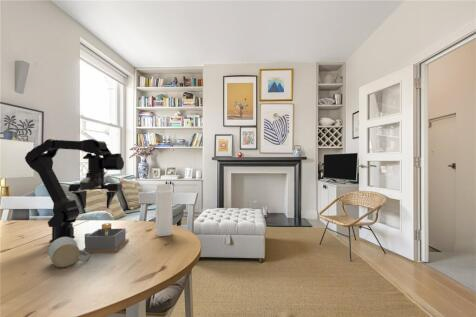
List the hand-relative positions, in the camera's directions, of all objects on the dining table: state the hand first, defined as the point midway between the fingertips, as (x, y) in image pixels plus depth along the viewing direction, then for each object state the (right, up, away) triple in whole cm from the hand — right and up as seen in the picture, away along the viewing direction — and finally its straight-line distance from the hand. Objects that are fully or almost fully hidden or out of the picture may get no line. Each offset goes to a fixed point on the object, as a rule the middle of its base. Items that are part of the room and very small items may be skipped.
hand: (96, 208), depth 100 cm
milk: (+25, -13, +8) cm, 30 cm away
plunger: (+9, -11, -8) cm, 17 cm away
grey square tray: (+9, -13, -8) cm, 18 cm away
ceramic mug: (+5, -13, -22) cm, 26 cm away
